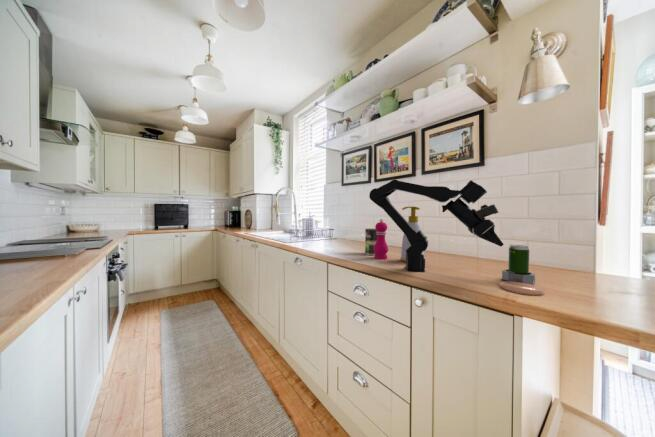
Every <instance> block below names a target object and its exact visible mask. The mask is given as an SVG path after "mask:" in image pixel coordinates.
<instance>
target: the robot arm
mask: <svg viewBox="0 0 655 437" xmlns="http://www.w3.org/2000/svg"><path fill="white" fill-rule="evenodd" d="M397 191H400V192H404V193H405V192H406V193H409V194H414V195H419V196H424V197H427V198H429V199H431V200H432V201H433V200H434V201H435V202H438V203H441V204H442V203H446V202H447V203H446V204H445V205H443V204H442V205H441V208H442V211H441V212H442V213H445V212H446V211H449V213H451V215H453V216H454V217H455V218H456V219H457V220H458V221H460V223H462V224H463V225H464V226H465V227H466V228H467V230H468V231H469V232H470V233H471V234H472V235H474V236H476V237H478V238H480V239H482V240H484V241H486V242H489V243H491V244H494V245H496V246H499V247H503V246H504V242H503V241H502V240H501V239H500V237H499V236H498V234H497V233H496V232H495V223H494V221H493V220H491V219H486V217H489V216H491V215H496V214H498V213H499V210H498V208H497V207H496V205H495V204H494V203H493V204H490V205H487V204H482V205H481V206H480V209H477V210H476V209H475V208H472V207H470V206H469V205H470V204H471V203H472V204H475V203H477V201H479V199H481V198H482V197H483V196H484V195H485V194H487V193H488V191H487V190H486V188H484V187H483V186H482V185H480V184H478V183H477V182H474V181H473V180H469V182H467V183H466V185H465V186H464V187H462V188H461V189H460V190H458V189H451V188H449V187H448V186H443V185H442V186H437V185H434V186H428V185H426V186H425V185H421V184H417V183H416V184H415V183H412V182H406V181H402V180H398V179H392V180H391V181H389V182H387V183H384V184H383V185H380V187H378V188H377V187H375V188H373V189H371V190H370V191H369V196H368V198H369V199H370V200H371V201H372V202H373V203H374V204H376V205H377V206H378V207H379V208H381V209H383V211H384V212H385V213H386V214H387V215H388V217H390V219H391V220H392V221H393V222H394V223H395V225H397V227H398V228H399V229H400V231H402V233H403V235H404V234H405V235H406V237H407V239H408V241H409V243H410V244H411V246H410V247H409V248H408V249H407V250H406V253H407V254H406V262H405V266H404V268H405V269H406V270H407V271H409V272H426V258H425V254H424V255H423V254H421V253H422V252H423V251H424V252H425V251H427V248H428V247H429V240H428V236H426V235H425V234H424V233H423V231H421V230H422V229H421V230H419V231H418V232H417V231H416V230H414V229H413V228H412V227H411V226H410V224H409V223H408V221H407V220H406V218H405V217H404V216H402V214H401V213H400V212H399V211H398V210H397V209H396V207H395V206H394V205H393V204H392V203H391V201H390V198H389V196H390V195H392V194H393V193H394V192H397ZM455 198H456V199H455ZM452 199H454V201H453V200H452ZM468 204H469V205H468Z"/></svg>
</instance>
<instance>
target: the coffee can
mask: <svg viewBox="0 0 655 437" xmlns="http://www.w3.org/2000/svg"><path fill="white" fill-rule="evenodd" d="M364 230H365V234H364V235H365V238H364V239H365V240H364V242H365V244H364V245H365V247H364V254H365V255H367V256H373V257H375V254H376V253H375V252H374V246H375V244H376V242H377V234H376V232H377V230H376V229H375V228H365V229H364Z"/></svg>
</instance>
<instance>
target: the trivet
mask: <svg viewBox="0 0 655 437" xmlns="http://www.w3.org/2000/svg"><path fill="white" fill-rule="evenodd" d="M500 288H501V289H503V290H506V291H509V292H511V293H515V294H521V295H527V296H543V295H544V294H545V289H544V288H543V287H541V286H538V285H535V284H533V285H531V284H526V283H520V282H510V281H506V280H505V281H501V282H500Z"/></svg>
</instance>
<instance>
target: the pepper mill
mask: <svg viewBox="0 0 655 437" xmlns="http://www.w3.org/2000/svg"><path fill="white" fill-rule="evenodd" d="M374 229H376V230H377V232H376V234H377V242H376V244H375V246H374V252H375V253H376V254H375V256H374V259H376V260H377V259H378V260H386V259H388V254H387V253H389V247H388V244H387V242H386V235H387V230H388V224H387V223H386V222H384V220H383V219H382V218H380V219H379V222H376V224H375V226H374Z"/></svg>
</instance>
